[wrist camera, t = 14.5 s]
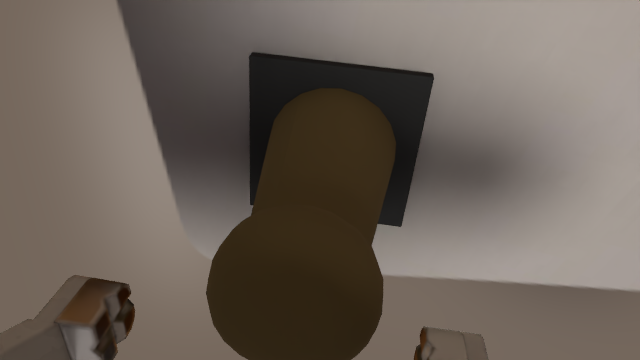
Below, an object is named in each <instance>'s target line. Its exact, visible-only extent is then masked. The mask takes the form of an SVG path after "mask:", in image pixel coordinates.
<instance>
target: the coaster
mask: <svg viewBox="0 0 640 360" xmlns="http://www.w3.org/2000/svg"><path fill="white" fill-rule="evenodd" d="M433 80H434V77H433V74H429V73H421V72H412V71H404V70H395V69H387V68H379V67H370V66H362V65H353V64H345V63H336V62H328V61H320V60H311V59H303V58H294V57H286V56H278V55H269V54H261V53H251V54H250V56H249V87H250V205H254V201H255V197H256V193H257V188H258V184H259V180H260V176H261V172H262V167H263V163H264V159H265V155H266V150H267V146H268V142H269V138H270V134H271V130H272V126H273V123H274V120H275V118H276V117H277V115H278V114H279V113H280V111H281V110H282V108H283V107H284V105H286V104H287V103H288V102H290V101H291V100H293V99H294V98H296V97H297V96H298V95H300V94H302V93H305V92H309V91H312V90H316V89H319V88H337V89H344V90H347V91H350V92H353V93H356V94H359V95H362V96H364V97H365V98H366V99H368V100H369V101H370V102H372V103H373V104H374V105H376V106H377V107H379V108H380V110H381V111H382V113H383V114H384V115H385V117H386V118H387V120H388V121H389V122H390V124H391V127H392V130H393V134H394V137H395V141H396V150H395V161H394V165H393V169H392V172H391V176H390V180H389V183H388V187H387V191H386V194H385V198H384V202H383V205H382V209H381V213H380V216H379V220H378V224H384V225H391V226H398V227H401V226H402V221H403V216H404V212H405V207H406V203H407V198H408V194H409V189H410V185H411V180H412V176H413V171H414V166H415V162H416V157H417V153H418V148H419V144H420V139H421V135H422V130H423V125H424V121H425V116H426V112H427V107H428V103H429V98H430V94H431V89H432V84H433Z"/></svg>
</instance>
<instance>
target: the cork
mask: <svg viewBox="0 0 640 360" xmlns="http://www.w3.org/2000/svg"><path fill="white" fill-rule="evenodd" d="M395 150H396V141H395V137H394V134H393V130H392V127H391V124H390V122H389V121H388V120H387V118H386V117H385V115H384V114H383V113H382V111H381V110H380V108H379V107H377V106H376V105H374V104H373V103H372V102H370V101H369V100H368V99H366V98H365V97H364V96H362V95H359V94H356V93H353V92H350V91H347V90H344V89H337V88H319V89H316V90H312V91H309V92H305V93H302V94H300V95H298V96H297V97H296V98H294V99H293V100H291V101H290V102H288V103H287V104H286V105H284V107H283V108H282V110H281V111H280V113H279V114H278V115H277V117H276V118H275V120H274V123H273V126H272V130H271V134H270V138H269V142H268V146H267V150H266V155H265V159H264V163H263V167H262V172H261V176H260V180H259V184H258V188H257V193H256V197H255V201H254V205H253V210H252V214H251V216H250V217H248V218H246V219H245V220H243V221H242V222H241V223H240V224H238V225H237V226H236V227H235V228H234V229H233V230H232V231H231V233H230V234H229V235H228V236H227V238H226V239H225V240H224V242H223V243H222V244H221V245H220V247H219V249H218V251H217V252H216V254H215V256H214V258H213V260H212V265H211V269H210V274H209V278H208V284H207V291H206V295H207V300H208V304H209V309H210V313H211V317H212V321H213V324H214V326H215V328H216V329H217V331H218V332H219V334H220V336H221V337H222V339H223V340H224V341H225V342H226V343H227V344H228V345H229V346H230V347H231V348H233V349H234V350H235V351H236V352H237V353H238V354H239V355H241V356H243V357H245V358H246V359H248V360H351V359H353V358H354V357H355V356H356V355H358V353H360V352H361V350H363V348H364V347H365V346H366V345H367V344H368V342H369V341H370V339H371V337H372V335H373V334H374V332H375V330H376V328H377V326H378V323H379V320H380V317H381V315H382V303H383V277H382V274H381V271H380V268H379V265H378V262H377V260H376V257H375V254H374V251H373V248H372V242H373V238H374V235H375V231H376V227H377V224H378V220H379V216H380V213H381V209H382V205H383V202H384V198H385V194H386V191H387V187H388V183H389V180H390V176H391V172H392V169H393V165H394V161H395Z"/></svg>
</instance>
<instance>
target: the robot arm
mask: <svg viewBox="0 0 640 360" xmlns="http://www.w3.org/2000/svg"><path fill="white" fill-rule="evenodd" d="M130 294H131V290H130V286H129V284H125V283H120V282H115V281H109V280H103V279H97V278H90V277H84V276H78V275H74V276H72V277H70V278H69V279H68V280H67V281H66V282H65V283H64V284H63V285H62V287H61V288H60V289H59V290H58V291H57V292H56V294H55V295H54V296H53V297H52V298H51V300H50V301H49V302H48V303H47V304H46V306H45V307H44V308H43V309H42V310H41V311H40V312H39V314H38V315H37V316H36V317H35V318H34V319H33V320H32V319H27V320H25V321H23V322H21V323H20V324H17V325H15V326H13V327H11V328H10V329H8V330H6V331H4V332H2V333H0V360H113V359H114V358H115V356H116V354H117V353H118V350H117V345H116V344H118V343H119V342H121V341H122V340H124V339H126V337H127V336H128V334H129V332H130V330H131V328H132V325H133V322H134V317H135V309H134V304H133V303H132V302H131V301H130V300H129V299H128V297H129V296H130ZM414 360H488V356H487V352H486V348H485V343H484V339H483V337H482V336H481V334H474V333H467V332H460V331H454V330H447V329H440V328H432V327H425V326H424V327H423V328H422V330H421V334H420V345H418V346H417V347H416V351H415V355H414Z"/></svg>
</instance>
